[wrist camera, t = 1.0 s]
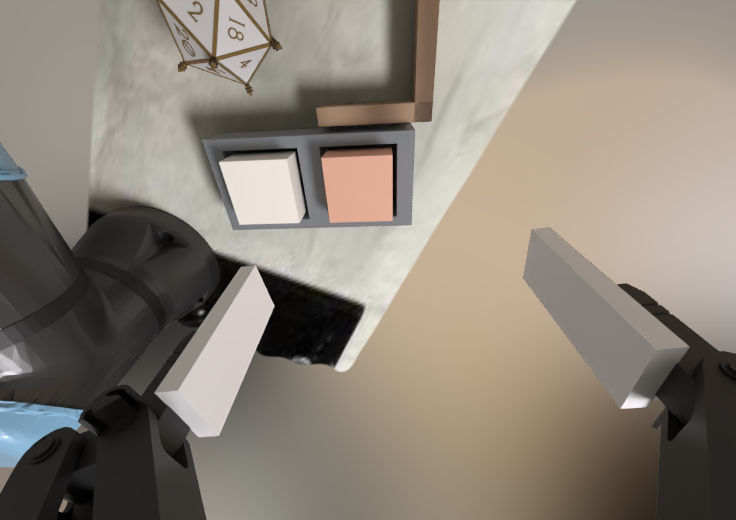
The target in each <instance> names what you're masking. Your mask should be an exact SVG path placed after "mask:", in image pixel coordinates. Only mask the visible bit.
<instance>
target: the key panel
mask: <svg viewBox="0 0 736 520" xmlns="http://www.w3.org/2000/svg"><path fill="white" fill-rule="evenodd" d="M202 142H203V145H204V148H205V150H206V153H207V156H208V159H209V162H210V165H211V168H212V171H213V173H214V176H215V179H216V182H217V185H218V188H219V191H220V193H221V196H222V199H223V202H224V205H225V208H226V211H227V213H228V216H229V219H230V222H231V225H232V228H233V230H249V229H286V228H323V227H360V226H397V225H411V222H412V196H413V170H414V145H415V129H414V128H413V126H412V125H411V124H394V125H373V126H353V127H332V128H312V129H291V130H271V131H250V132H230V133H221V134H218V135H215V136H213V137H210V138H207V139H204V140H202ZM373 144H395V202H393V221H373V222H337V223H330V220H329V212H328V205H327V198H326V190H325V183H324V176H323V168H322V161H321V158H322V156H323V155H324V153H325V152H326V151H327V150H328V149H327V147H328V146H351V145H373ZM283 148H297V151H298V156H299V162H300V168H301V173H302V179H303V184H304V190H305V196H306V201H307V205H305V206H306V212H305V214H304V216H303V218H302V219H301V221H300V223H284V224H248V225H239V222H238V219H237V216H236V213H235V210H234V207H233V204H232V201H231V198H230V195H229V192H228V189H227V186H226V183H225V180H224V177H223V173H222V170H221V167H220V164H219V162H220V161H222V160H224V159H225V158H227V157H229V156H231V155H233V154H243V151H242V150H261V149H283Z"/></svg>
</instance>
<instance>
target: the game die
mask: <svg viewBox="0 0 736 520" xmlns="http://www.w3.org/2000/svg"><path fill="white" fill-rule="evenodd" d="M156 1H157V3H158V5H159V7H160V10H161V12H162V14H163V16H164V18H165V21H166V23H167V25H168V27H169V30H170V32H171V34H172V36H173V38H174V41H175V43H176V45H177V47H178V49H179V52H180V54H181V56H182V58H183V62H180V64H179V65H178V72H181V71H185V69H187V65H189V66H192V67H195V68H198V69H201V70H204V71H207V72H209V73H212V74H215V75H218V76H221V77H224V78H227V79H230V80H232V81H235V82H238V83H241V84H244V85H245V87H246V88H245V89H246V90H247V93H248V94H249V95H251V96H252V91H253V90H252V89H251V88H252V87H250V85H249V82H250V81H251V79H252V77H253V76H254V74H255V73H256V71H257V69H258V68H259V66H260V64H261V63H262V61H263V59H264V58H265V56H266V55H267V53H268V51H269V50H270V48H271V46H272V47H273V49H276V51H278V50H279V49H283V48H282V47H281V46H280V43H279V42H276V40H275V39H273V38H272V36H271V31H270V26H269V20H268V15H267V10H266V4H265V0H156Z"/></svg>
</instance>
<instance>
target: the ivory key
mask: <svg viewBox="0 0 736 520" xmlns="http://www.w3.org/2000/svg"><path fill="white" fill-rule="evenodd" d="M219 164H220V167H221V170H222V173H223V177H224V180H225V183H226V186H227V189H228V192H229V195H230V198H231V201H232V204H233V207H234V210H235V213H236V216H237V219H238V222H239V225H248V224H284V223H300V221H301V219H302V218H303V216H304V214H305V212H306V206H305V200H304V195H303V189H302V184H301V178H300V173H299V167H298V162H297V156H296V151H291V152H269V153H246V154H233V155H231V156H229V157H227V158H225V159H224V160H222V161H220V162H219Z"/></svg>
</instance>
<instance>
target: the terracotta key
mask: <svg viewBox="0 0 736 520" xmlns="http://www.w3.org/2000/svg"><path fill="white" fill-rule="evenodd" d="M321 161H322V168H323V176H324V183H325V190H326V198H327V205H328V212H329V220H330V223H337V222H373V221H393V155H392V148H391V147H388V148H366V149H343V150H327V151H326V152H325V153H324V155H323V156H322V158H321Z"/></svg>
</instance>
